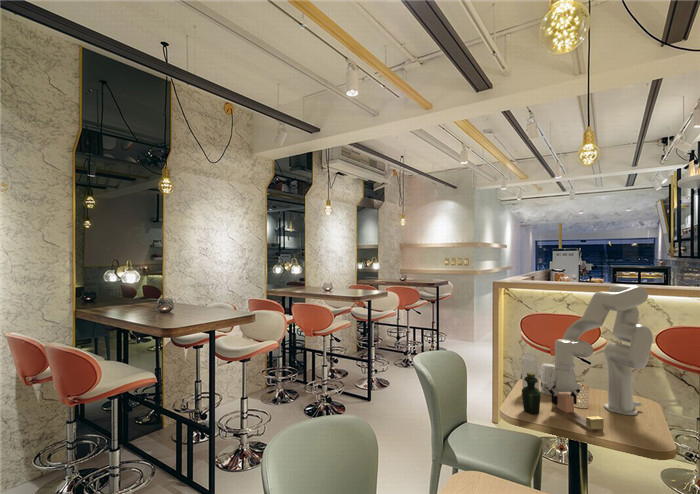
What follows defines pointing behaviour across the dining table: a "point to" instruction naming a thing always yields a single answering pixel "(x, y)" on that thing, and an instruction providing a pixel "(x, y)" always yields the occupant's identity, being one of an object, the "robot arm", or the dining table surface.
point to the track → (574, 418)
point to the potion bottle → (531, 395)
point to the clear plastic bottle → (530, 367)
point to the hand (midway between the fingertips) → (564, 403)
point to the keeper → (565, 402)
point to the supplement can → (546, 376)
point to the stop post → (595, 422)
